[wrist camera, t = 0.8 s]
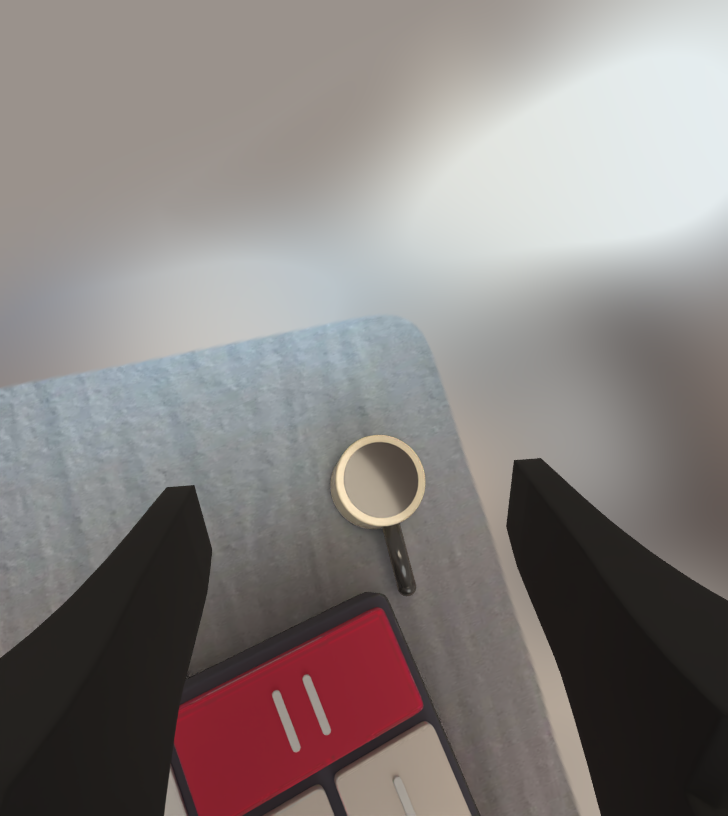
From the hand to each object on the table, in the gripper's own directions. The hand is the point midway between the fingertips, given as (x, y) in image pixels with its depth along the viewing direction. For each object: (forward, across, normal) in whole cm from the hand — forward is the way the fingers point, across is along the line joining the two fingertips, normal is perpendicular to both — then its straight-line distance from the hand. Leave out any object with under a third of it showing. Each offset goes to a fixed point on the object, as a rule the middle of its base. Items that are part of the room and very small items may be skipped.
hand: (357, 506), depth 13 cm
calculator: (+4, +5, +19) cm, 20 cm away
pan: (+13, -1, +12) cm, 18 cm away
